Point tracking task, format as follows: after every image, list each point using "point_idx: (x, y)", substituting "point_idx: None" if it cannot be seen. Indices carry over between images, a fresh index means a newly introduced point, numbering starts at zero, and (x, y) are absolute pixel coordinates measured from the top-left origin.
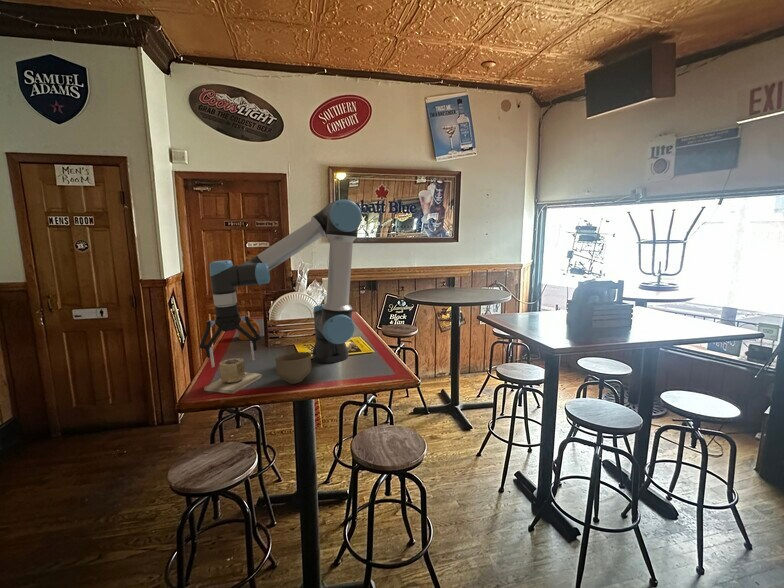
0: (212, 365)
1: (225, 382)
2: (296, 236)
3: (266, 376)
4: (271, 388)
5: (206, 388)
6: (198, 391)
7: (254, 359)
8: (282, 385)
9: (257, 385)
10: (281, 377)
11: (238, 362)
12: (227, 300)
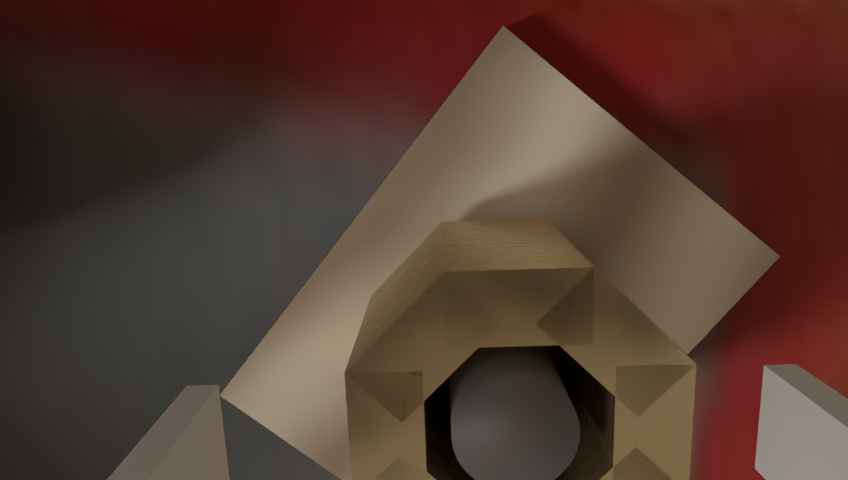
0: (799, 377)
1: None
2: None
3: (187, 379)
4: (122, 18)
5: (753, 235)
6: (814, 249)
7: (184, 390)
8: (15, 56)
9: (265, 167)
10: None
11: (419, 361)
12: None
